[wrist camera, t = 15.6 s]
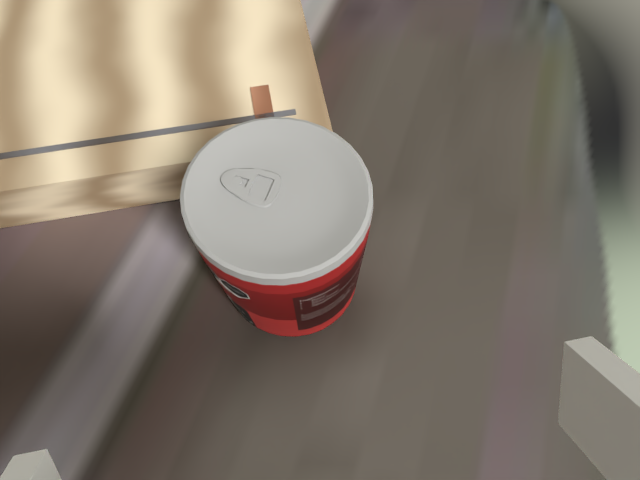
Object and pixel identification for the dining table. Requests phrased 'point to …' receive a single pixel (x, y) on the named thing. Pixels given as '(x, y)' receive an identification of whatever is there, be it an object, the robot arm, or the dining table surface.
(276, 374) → the dining table surface
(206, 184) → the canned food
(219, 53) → the maple plank
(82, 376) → the dining table surface
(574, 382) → the robot arm
